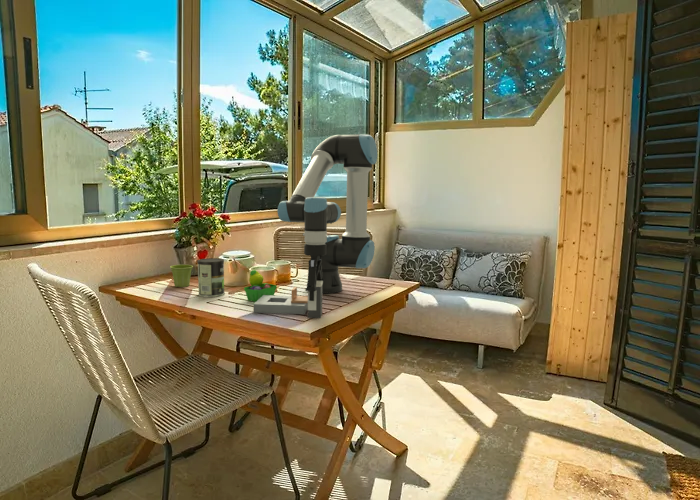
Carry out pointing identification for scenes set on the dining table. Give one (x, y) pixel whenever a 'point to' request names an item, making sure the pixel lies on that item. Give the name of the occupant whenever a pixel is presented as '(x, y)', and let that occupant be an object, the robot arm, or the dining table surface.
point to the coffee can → (211, 277)
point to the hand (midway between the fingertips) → (314, 305)
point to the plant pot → (181, 275)
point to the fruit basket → (258, 287)
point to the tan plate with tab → (298, 297)
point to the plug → (317, 302)
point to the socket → (279, 305)
